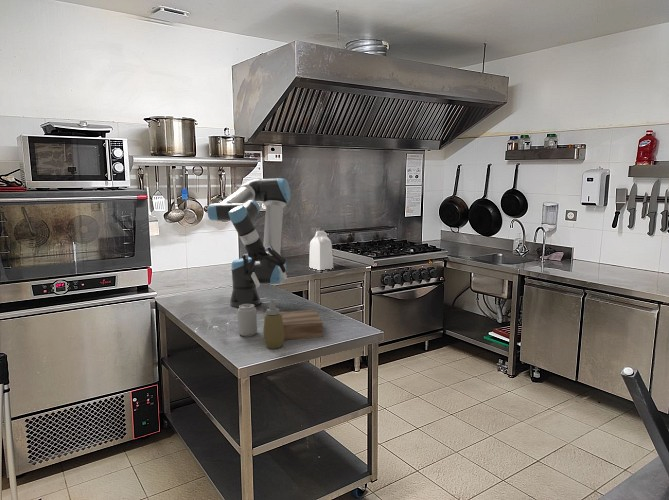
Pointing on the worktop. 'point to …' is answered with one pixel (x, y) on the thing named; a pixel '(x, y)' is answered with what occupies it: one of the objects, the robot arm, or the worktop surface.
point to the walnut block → (301, 324)
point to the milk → (320, 252)
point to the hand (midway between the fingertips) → (272, 282)
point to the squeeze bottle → (273, 327)
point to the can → (247, 320)
